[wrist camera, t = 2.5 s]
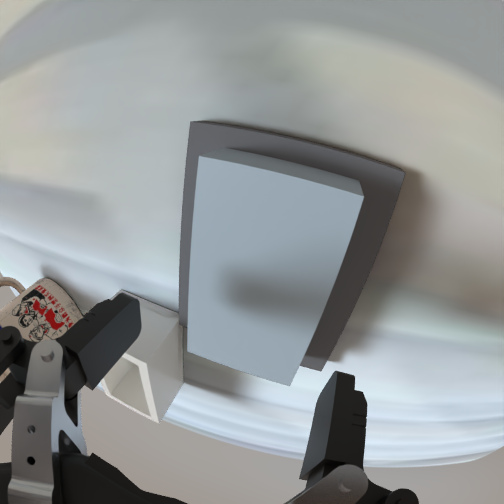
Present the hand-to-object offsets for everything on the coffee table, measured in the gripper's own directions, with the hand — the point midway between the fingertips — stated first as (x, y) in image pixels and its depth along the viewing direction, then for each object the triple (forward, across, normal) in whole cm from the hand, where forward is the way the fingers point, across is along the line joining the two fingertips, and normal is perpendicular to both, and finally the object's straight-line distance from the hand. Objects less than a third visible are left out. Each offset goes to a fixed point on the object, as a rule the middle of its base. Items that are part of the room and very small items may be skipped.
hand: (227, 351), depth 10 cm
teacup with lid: (+7, +22, +12) cm, 26 cm away
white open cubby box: (+7, +8, +10) cm, 15 cm away
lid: (+6, 0, -1) cm, 6 cm away
